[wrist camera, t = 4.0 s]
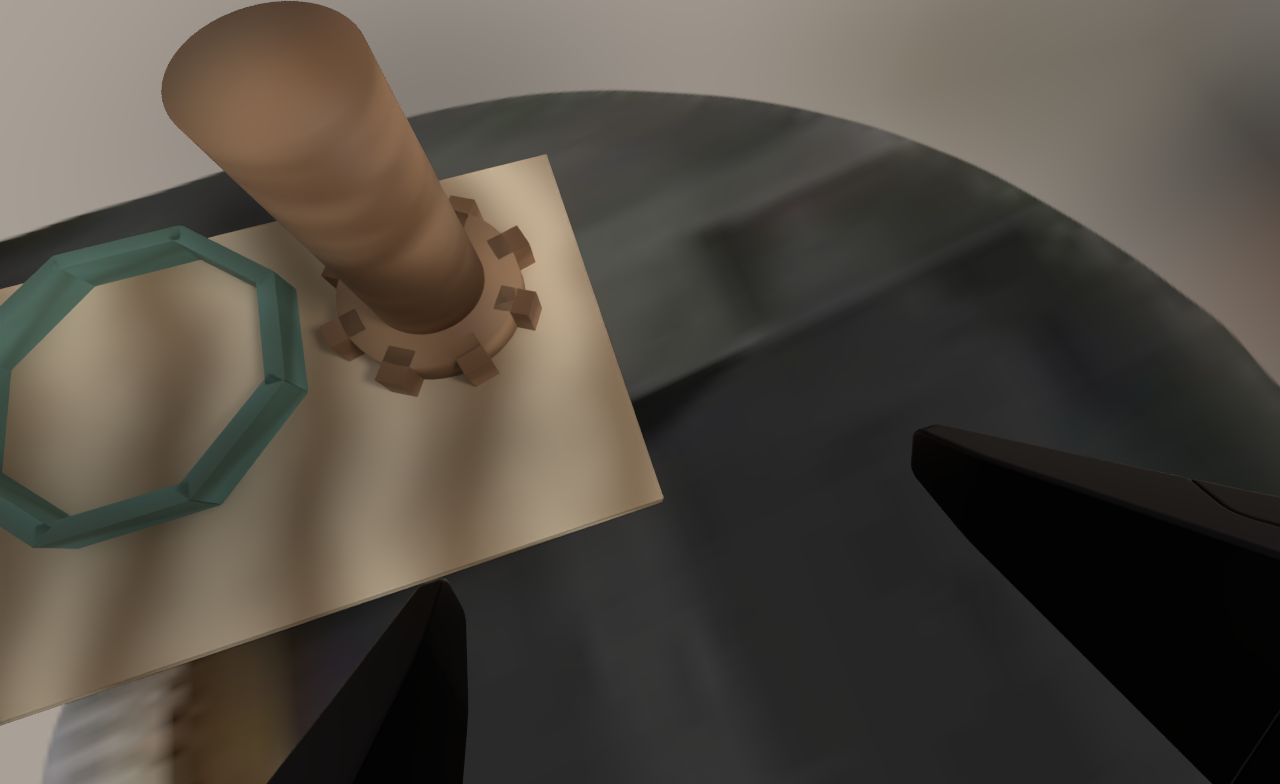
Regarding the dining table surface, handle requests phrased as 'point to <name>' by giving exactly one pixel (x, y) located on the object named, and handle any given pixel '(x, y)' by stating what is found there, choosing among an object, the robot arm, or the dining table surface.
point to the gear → (353, 191)
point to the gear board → (274, 446)
